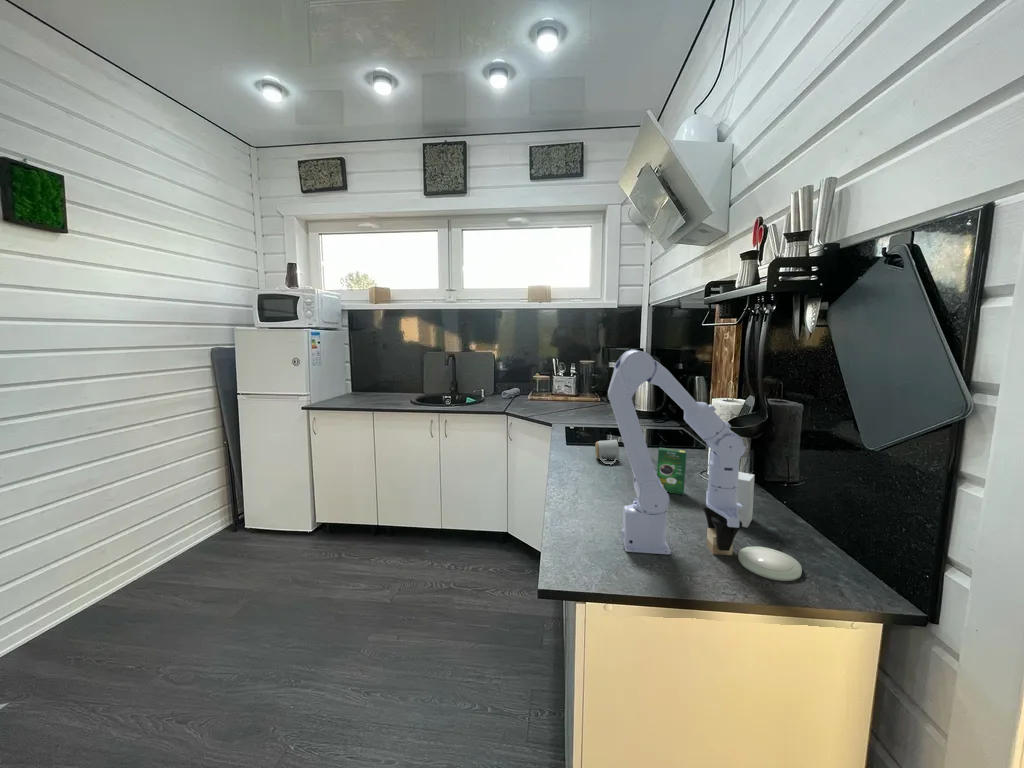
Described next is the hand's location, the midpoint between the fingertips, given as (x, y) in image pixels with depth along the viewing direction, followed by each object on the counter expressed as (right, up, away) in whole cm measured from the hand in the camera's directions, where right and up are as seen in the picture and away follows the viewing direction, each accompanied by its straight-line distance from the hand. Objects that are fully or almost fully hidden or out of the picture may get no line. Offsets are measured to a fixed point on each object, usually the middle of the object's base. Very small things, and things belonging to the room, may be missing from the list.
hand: (719, 543), depth 90 cm
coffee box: (+2, +2, +33) cm, 33 cm away
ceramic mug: (-10, +6, +63) cm, 64 cm away
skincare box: (+12, 0, +13) cm, 18 cm away
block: (0, -2, 0) cm, 2 cm away
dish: (+7, -2, -6) cm, 10 cm away
